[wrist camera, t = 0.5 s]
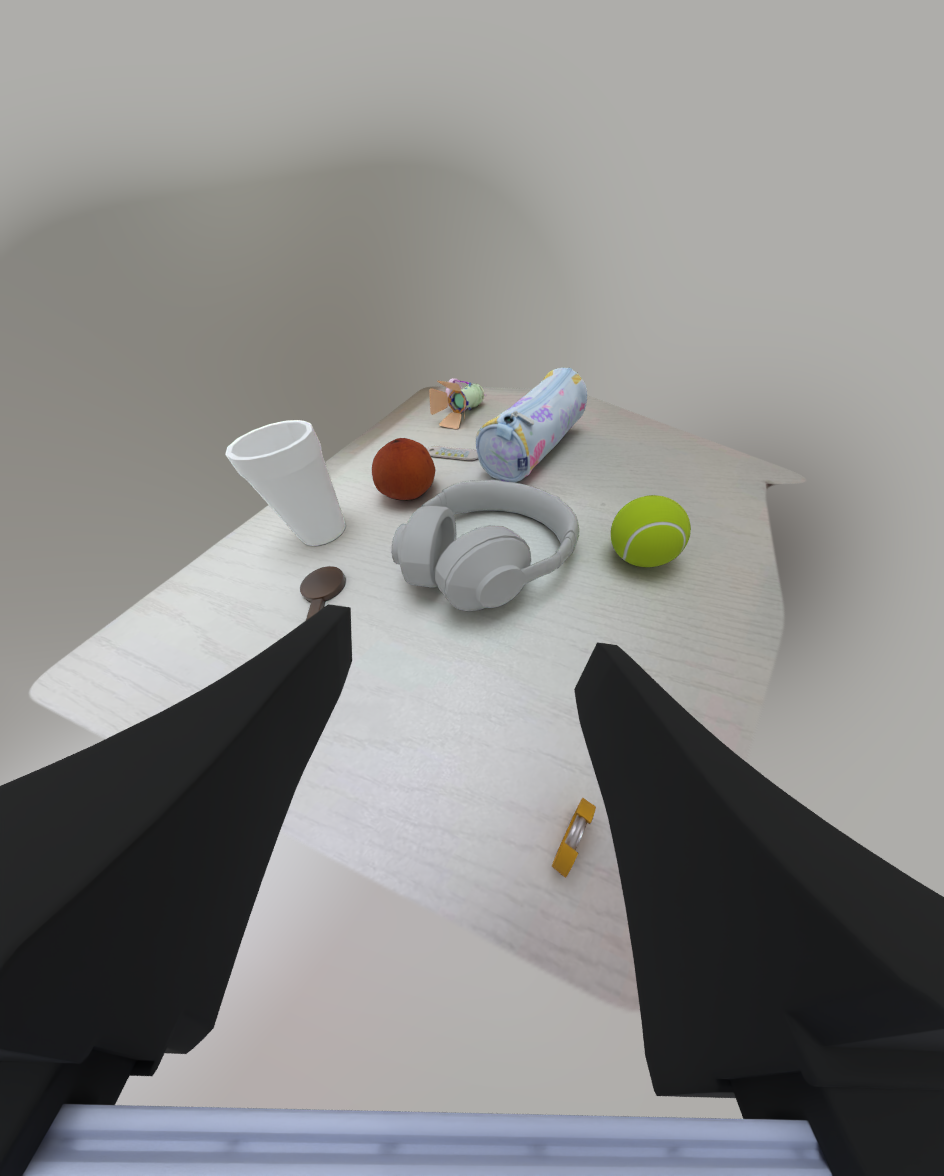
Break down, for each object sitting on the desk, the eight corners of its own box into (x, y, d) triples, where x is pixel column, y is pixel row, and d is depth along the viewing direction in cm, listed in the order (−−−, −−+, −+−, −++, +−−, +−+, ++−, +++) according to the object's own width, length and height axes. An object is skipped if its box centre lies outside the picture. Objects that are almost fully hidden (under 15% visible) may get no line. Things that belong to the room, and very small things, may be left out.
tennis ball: (601, 536, 39) (613, 483, 34) (667, 535, 37) (689, 480, 32) (610, 581, 34) (624, 527, 29) (684, 581, 33) (713, 525, 28)
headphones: (507, 655, 29) (594, 545, 41) (510, 589, 24) (609, 484, 36) (368, 579, 38) (473, 506, 49) (348, 518, 33) (471, 453, 44)
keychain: (420, 451, 57) (429, 443, 59) (421, 455, 57) (429, 446, 59) (476, 457, 53) (483, 448, 55) (476, 461, 54) (483, 452, 55)
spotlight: (464, 430, 62) (464, 384, 57) (427, 423, 65) (424, 378, 60) (493, 415, 70) (496, 373, 65) (459, 409, 73) (459, 368, 68)
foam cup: (282, 559, 43) (212, 467, 34) (296, 518, 50) (240, 429, 40) (354, 545, 44) (305, 448, 34) (359, 505, 50) (318, 414, 40)
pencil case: (524, 493, 46) (524, 423, 39) (474, 479, 50) (465, 414, 43) (586, 429, 56) (594, 364, 49) (540, 422, 60) (541, 361, 53)
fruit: (397, 475, 54) (381, 425, 48) (447, 479, 51) (436, 426, 45) (369, 508, 49) (347, 456, 43) (423, 514, 46) (408, 459, 40)
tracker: (562, 878, 20) (568, 877, 17) (550, 867, 20) (553, 865, 17) (590, 812, 22) (599, 801, 19) (578, 803, 22) (585, 792, 19)
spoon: (311, 732, 28) (306, 729, 27) (253, 740, 28) (247, 737, 27) (348, 568, 41) (346, 563, 40) (309, 574, 41) (305, 569, 40)
